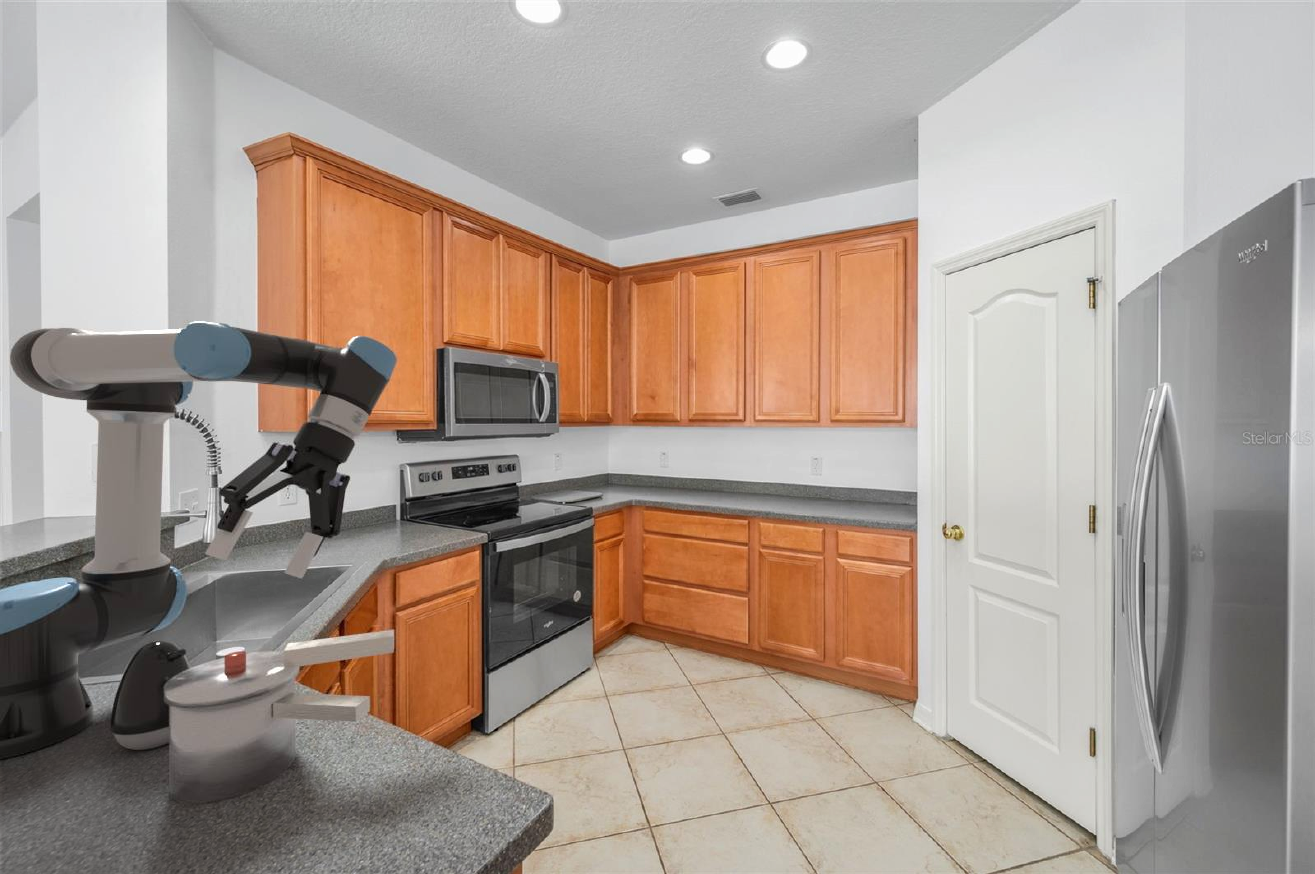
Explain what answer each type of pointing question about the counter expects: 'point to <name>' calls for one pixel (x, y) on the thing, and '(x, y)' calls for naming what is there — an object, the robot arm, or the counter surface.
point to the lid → (265, 669)
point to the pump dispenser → (146, 696)
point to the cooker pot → (244, 741)
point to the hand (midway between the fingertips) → (257, 567)
